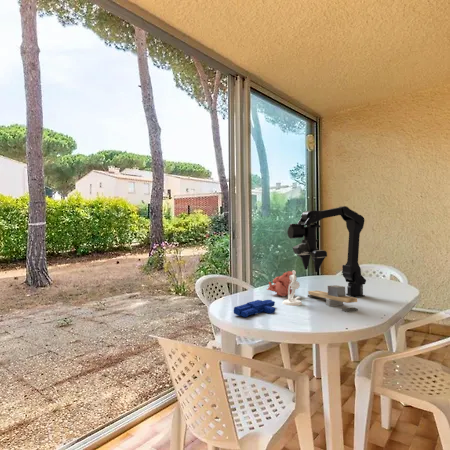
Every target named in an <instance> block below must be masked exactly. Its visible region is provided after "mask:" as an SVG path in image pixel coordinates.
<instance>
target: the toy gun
mask: <svg viewBox="0 0 450 450" xmlns="http://www.w3.org/2000/svg"><path fill="white" fill-rule="evenodd" d="M275 303H276V302H275V300H272V299H263V300H262V299H256V300H253V301H249V302H247V303H245V304H240V305H238V306H234V308H233V314H234V315H236V316H238V317H241V316H242V317H243V318H248V316H251V315H258V314H261V313H267V314H270V315H271V314H274V313H275V312H276V307H275ZM257 313H258V314H257Z"/></svg>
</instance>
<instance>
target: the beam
mask: <svg viewBox="0 0 450 450" xmlns="http://www.w3.org/2000/svg"><path fill="white" fill-rule="evenodd" d="M307 292H308V294H307V295H314V296H318V297H317V298H322V299H332V300H336V301H341V302H343V303H345V304H348V303H358V297H352V296H349V295H346V296H343V297H335V296H331V295H328V291H321V290H308V291H307Z"/></svg>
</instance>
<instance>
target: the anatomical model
mask: <svg viewBox="0 0 450 450" xmlns="http://www.w3.org/2000/svg"><path fill="white" fill-rule="evenodd" d="M292 272H293V271H291V270H288V271H286V272H283V273H282V275H279V276H276V277H275V278H274V279H272V281H268V286H267V287H268V288H266V290H267V291H272V292H274V293H275V294H276V296H281V297H288V288H289V285H290V284H291V282H292V281H291V280H290V277H289V276H290V275H293V273H292ZM295 276H296V277H297V275H296V274H295ZM272 283H273V284H272ZM291 293H292V289H291V286H290V294H291Z"/></svg>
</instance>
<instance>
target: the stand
mask: <svg viewBox="0 0 450 450" xmlns="http://www.w3.org/2000/svg"><path fill="white" fill-rule="evenodd" d="M307 298H310V299H313V298H314V299H315V298H319V297H318V296H314V295H309V294H307ZM325 299H326V300H325V303H326V306H328V307H335V306H344V302H341V301H336V300H332V299H327V298H325ZM341 311H342V312H343V313H350V312H358V311H359V308H358V307H353V306H352V307H345V308H341Z"/></svg>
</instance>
